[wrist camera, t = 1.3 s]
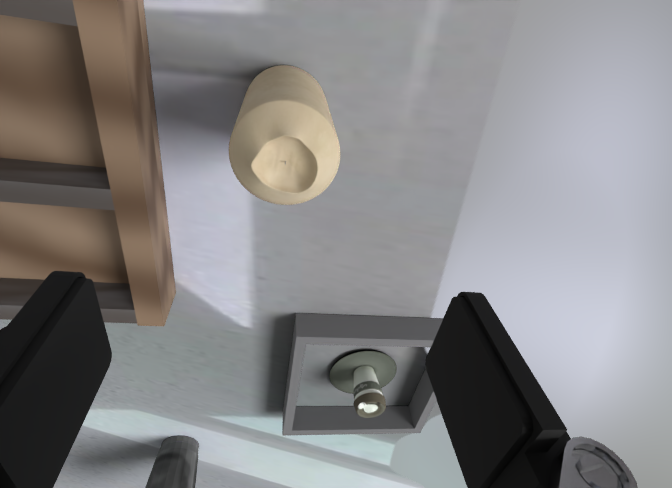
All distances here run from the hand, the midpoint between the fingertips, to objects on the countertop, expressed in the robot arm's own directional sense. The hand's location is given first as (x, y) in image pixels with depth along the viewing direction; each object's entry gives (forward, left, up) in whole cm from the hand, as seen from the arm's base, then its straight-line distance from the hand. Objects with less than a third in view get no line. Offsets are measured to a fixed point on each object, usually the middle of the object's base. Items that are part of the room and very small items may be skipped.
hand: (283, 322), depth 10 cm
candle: (0, 0, -20) cm, 20 cm away
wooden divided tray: (+6, -16, -19) cm, 26 cm away
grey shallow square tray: (+28, +11, -19) cm, 36 cm away
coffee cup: (+28, +11, -19) cm, 36 cm away
